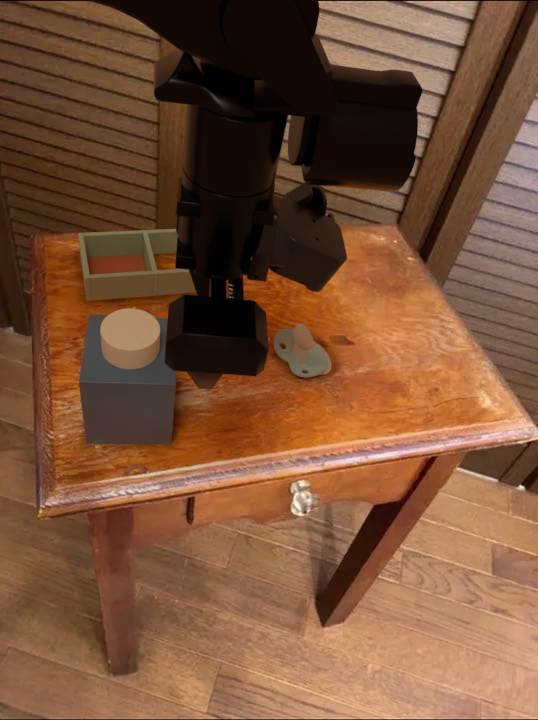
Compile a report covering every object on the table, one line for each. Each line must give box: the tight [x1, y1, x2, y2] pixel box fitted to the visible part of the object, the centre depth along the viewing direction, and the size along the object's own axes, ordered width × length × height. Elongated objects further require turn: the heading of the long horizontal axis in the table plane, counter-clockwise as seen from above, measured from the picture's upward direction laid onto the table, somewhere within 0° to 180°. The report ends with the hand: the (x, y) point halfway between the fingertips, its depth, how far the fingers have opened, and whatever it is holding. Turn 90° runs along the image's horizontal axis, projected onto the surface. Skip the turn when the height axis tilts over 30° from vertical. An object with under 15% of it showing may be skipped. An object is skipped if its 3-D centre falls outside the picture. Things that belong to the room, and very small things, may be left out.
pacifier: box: [273, 322, 333, 378], centre depth 66 cm, size 7×6×6 cm
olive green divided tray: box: [77, 228, 197, 302], centre depth 72 cm, size 16×8×4 cm, turn 107°
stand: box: [78, 313, 177, 446], centre depth 56 cm, size 8×8×10 cm
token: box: [100, 307, 160, 369], centre depth 51 cm, size 5×5×2 cm
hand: (205, 342), depth 47 cm, fingers open, 9 cm apart
